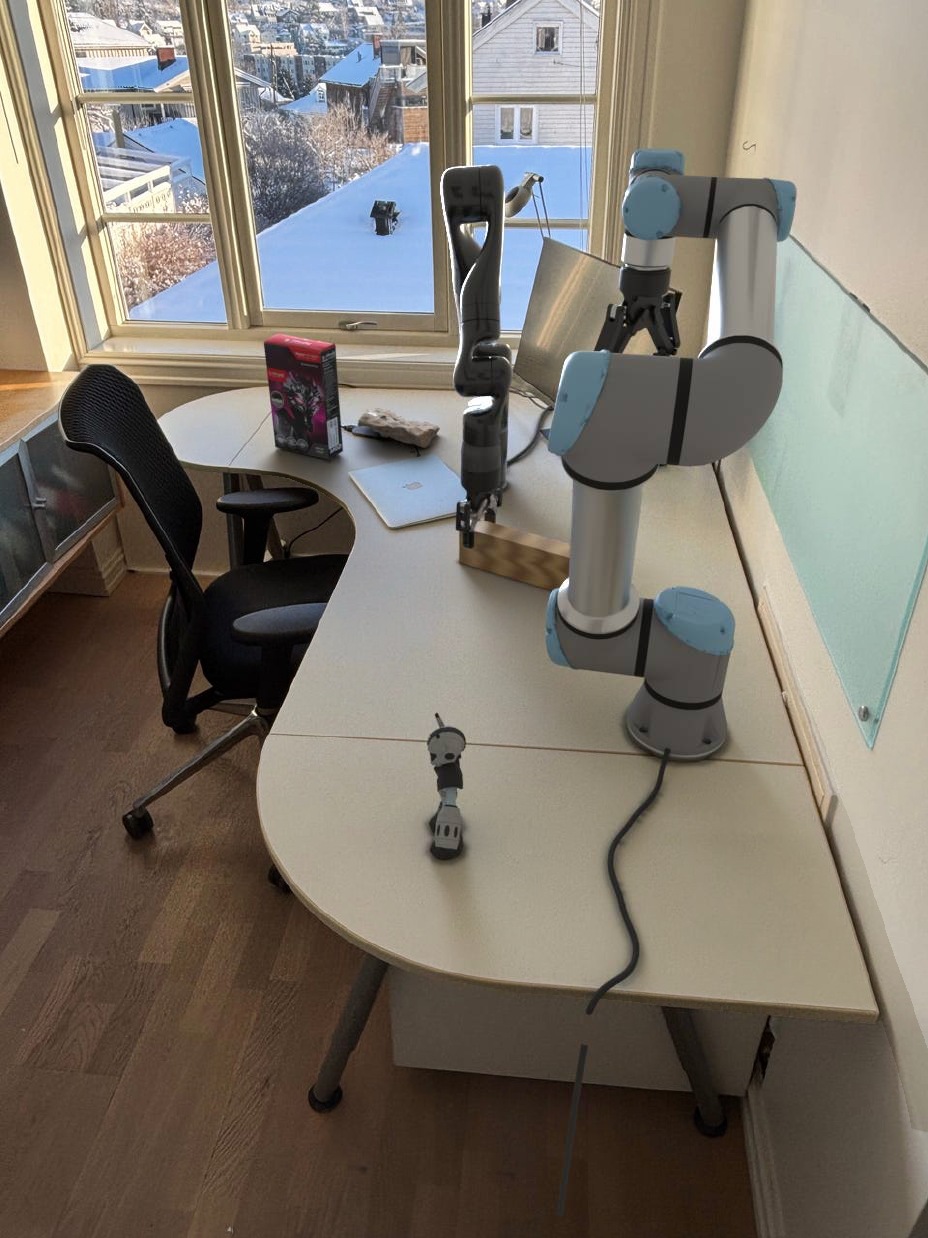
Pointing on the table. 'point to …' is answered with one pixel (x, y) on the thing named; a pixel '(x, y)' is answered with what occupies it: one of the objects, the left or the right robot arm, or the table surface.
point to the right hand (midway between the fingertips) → (630, 403)
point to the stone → (398, 427)
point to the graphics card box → (304, 395)
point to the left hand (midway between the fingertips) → (479, 538)
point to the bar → (517, 555)
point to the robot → (447, 789)
